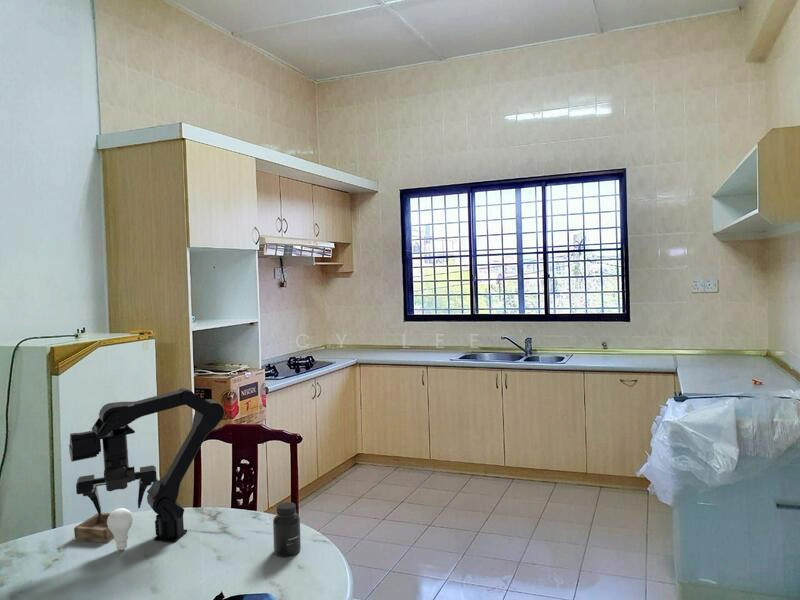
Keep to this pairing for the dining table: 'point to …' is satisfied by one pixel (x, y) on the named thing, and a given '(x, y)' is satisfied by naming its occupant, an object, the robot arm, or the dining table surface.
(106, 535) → the brown square tray
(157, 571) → the dining table surface
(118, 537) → the lightbulb
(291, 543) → the supplement bottle
